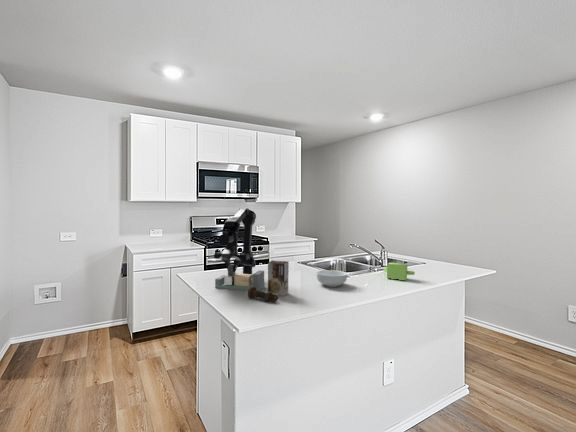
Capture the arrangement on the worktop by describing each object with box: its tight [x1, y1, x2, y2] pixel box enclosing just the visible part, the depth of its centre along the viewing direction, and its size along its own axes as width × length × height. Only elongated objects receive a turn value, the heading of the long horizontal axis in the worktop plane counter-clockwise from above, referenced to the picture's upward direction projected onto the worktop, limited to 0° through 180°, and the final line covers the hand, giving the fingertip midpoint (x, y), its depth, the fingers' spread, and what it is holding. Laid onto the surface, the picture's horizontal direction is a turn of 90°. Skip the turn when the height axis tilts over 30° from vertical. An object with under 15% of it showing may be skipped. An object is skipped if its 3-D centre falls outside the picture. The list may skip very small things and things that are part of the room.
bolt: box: [247, 287, 279, 303], centre depth 152 cm, size 6×5×15 cm
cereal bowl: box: [316, 269, 348, 288], centre depth 182 cm, size 17×17×7 cm
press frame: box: [214, 270, 265, 291], centre depth 174 cm, size 10×24×8 cm, turn 76°
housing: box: [234, 273, 253, 286], centre depth 174 cm, size 6×8×5 cm
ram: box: [224, 263, 240, 285], centre depth 176 cm, size 9×4×10 cm, turn 166°
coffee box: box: [267, 260, 289, 297], centre depth 163 cm, size 9×6×16 cm
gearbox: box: [383, 262, 416, 281], centre depth 199 cm, size 18×10×10 cm, turn 62°
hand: (231, 271), depth 176 cm, fingers closed on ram, 3 cm apart
